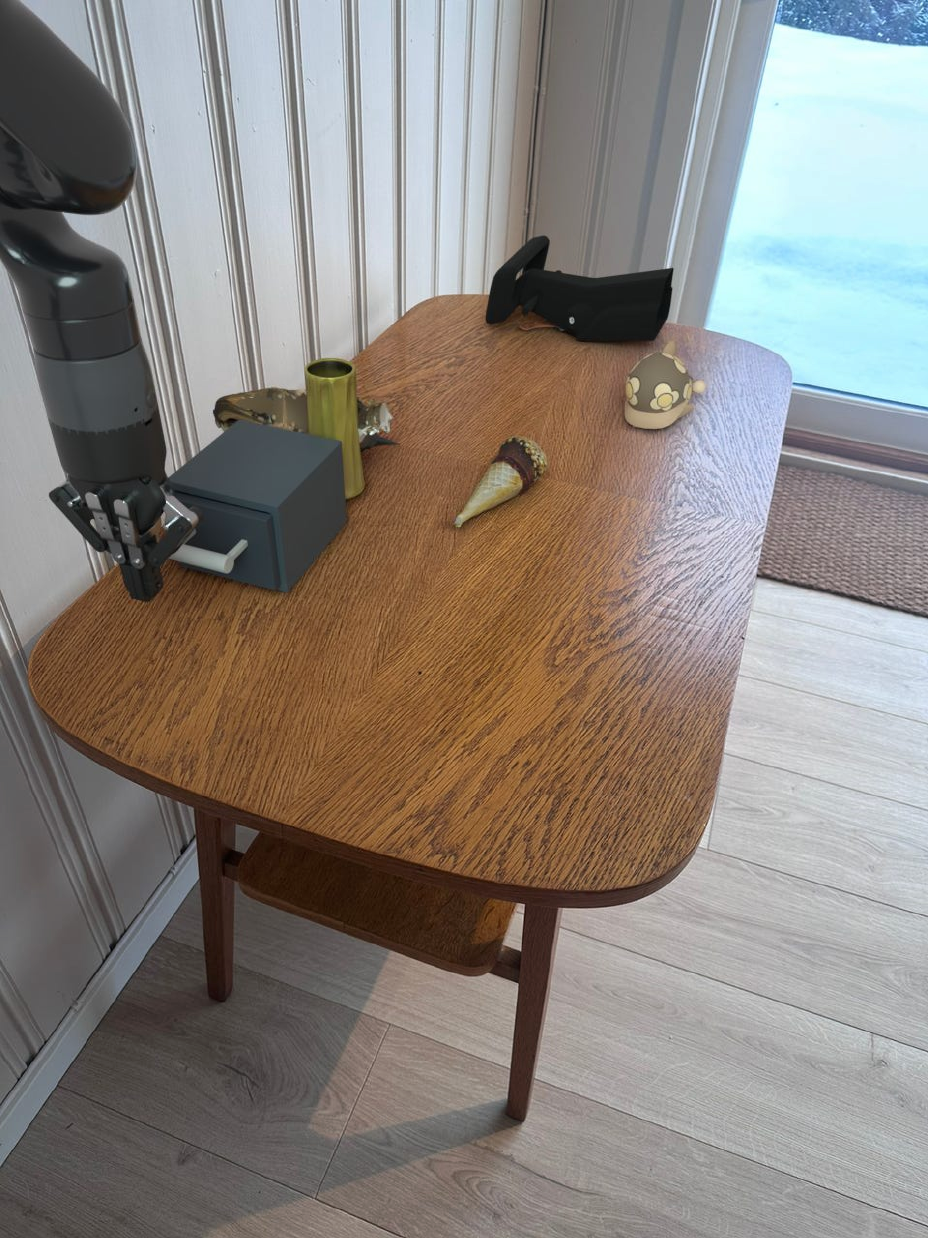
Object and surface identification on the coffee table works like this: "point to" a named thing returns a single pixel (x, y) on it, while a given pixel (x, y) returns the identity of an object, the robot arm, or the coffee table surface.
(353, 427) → the vase
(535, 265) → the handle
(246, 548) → the drawer
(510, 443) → the ice cream cone
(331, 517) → the cabinet
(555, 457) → the coffee table surface
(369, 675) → the coffee table surface
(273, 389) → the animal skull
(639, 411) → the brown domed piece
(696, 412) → the coffee table surface
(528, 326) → the knife
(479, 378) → the coffee table surface
